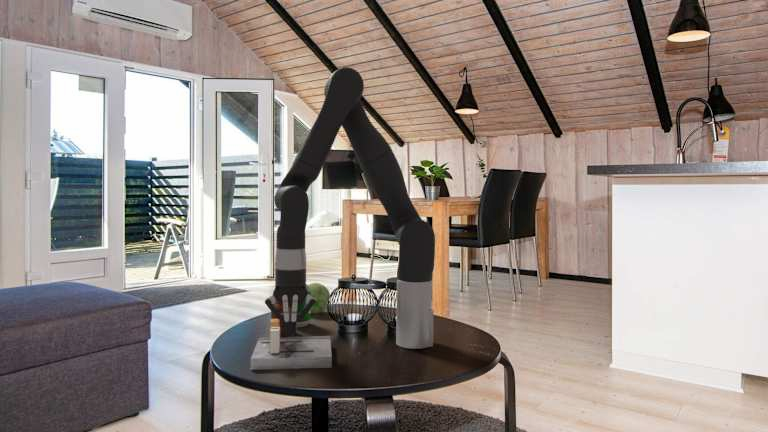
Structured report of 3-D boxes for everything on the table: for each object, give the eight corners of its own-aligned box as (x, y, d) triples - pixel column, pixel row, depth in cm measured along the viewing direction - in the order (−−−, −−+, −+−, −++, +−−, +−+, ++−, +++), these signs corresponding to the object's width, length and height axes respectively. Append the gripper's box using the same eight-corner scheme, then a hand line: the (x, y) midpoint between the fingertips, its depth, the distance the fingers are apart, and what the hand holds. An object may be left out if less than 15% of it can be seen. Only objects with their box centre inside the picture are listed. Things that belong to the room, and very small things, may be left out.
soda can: (308, 328, 152) (308, 287, 151) (282, 327, 152) (283, 287, 152) (312, 321, 159) (312, 283, 159) (288, 321, 160) (288, 282, 159)
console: (329, 345, 135) (329, 335, 134) (331, 367, 118) (331, 356, 118) (259, 347, 132) (259, 337, 132) (250, 369, 115) (250, 358, 115)
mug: (275, 329, 150) (275, 294, 150) (304, 331, 148) (304, 295, 148) (257, 340, 138) (257, 302, 138) (288, 343, 137) (288, 304, 136)
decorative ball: (332, 315, 168) (332, 285, 167) (301, 317, 165) (301, 286, 165) (327, 309, 177) (327, 280, 177) (298, 310, 175) (298, 281, 174)
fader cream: (280, 348, 122) (280, 326, 122) (278, 353, 119) (279, 330, 119) (271, 348, 122) (271, 326, 122) (270, 353, 119) (270, 330, 118)
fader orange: (279, 339, 130) (279, 318, 130) (278, 343, 127) (278, 321, 126) (271, 339, 130) (271, 318, 130) (270, 343, 126) (270, 321, 126)
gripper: (317, 264, 132) (317, 331, 133) (265, 264, 131) (264, 332, 131) (317, 268, 125) (317, 339, 126) (261, 268, 123) (261, 340, 124)
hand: (290, 335), depth 129 cm, fingers closed
